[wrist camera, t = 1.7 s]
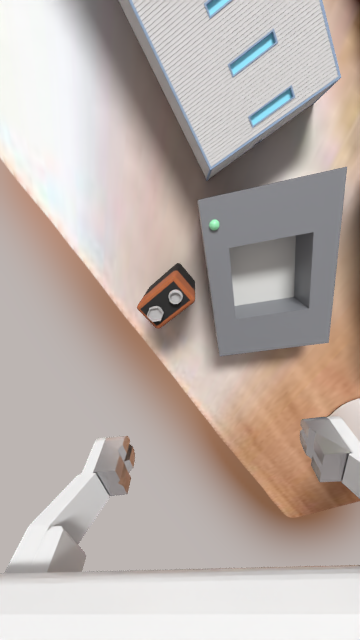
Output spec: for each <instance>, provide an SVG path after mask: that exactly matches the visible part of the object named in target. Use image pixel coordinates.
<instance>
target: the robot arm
mask: <svg viewBox="0 0 360 640" xmlns="http://www.w3.org/2000/svg"><path fill="white" fill-rule="evenodd" d="M301 427H302V428H303V429H302V430H301V431H300V440H301V444H302V447H303V449H304V451H305V453H306V455H307V456H309V457H310V458H311V459H312V463H311V466H312V468H313V470H314V472H315V474H316V476H317V478H318V480H319V482H335V481H342V483H343V484H344V485H345V486H346V487H347V488H349V489H350V490H351V491H352V492H353V493H354V494H355V495H356V496H357V497H358V498H360V398H359V399H355V400H352V401H350V402H348V403H346V404H344V405H342V406H341V407H339V408H338V409H337V410H335V411H334V412H333V413H332V414H331V415H330V416H328V417H318V418H309V419H302V420H301ZM129 443H130V439H129V438H128V436H123V437H109V438H98V439H97V440H96V441H95V443H94V445H93V447H92V450H91V452H90V454H89V457H88V460H87V462H86V464H85V467H84V469H83V471H82V474H78V475H77V477H75V479H73V480H72V482H71V483H70V484H69V485H68V486H67V487H66V488H65V489H64V490H63V491H62V492H61V493H60V494H59V495H58V496H57V497H56V498H55V499H54V500H53V502H51V503H50V504H49V505H48V507H47V508H46V509H45V510H44V511H43V512H42V513H41V514H40V515H39V516H38V517H37V518H36V519H35V520H34V521H33V522H32V523H31V524H30V525H29V526H28V528H27V530H26V532H25V534H24V536H23V538H22V540H21V542H20V544H19V546H18V548H17V549H16V551H15V553H14V555H13V557H12V559H11V561H10V563H9V565H8V567H7V569H6V571H5V573H3V574H0V640H360V565H349V566H305V567H261V568H218V569H175V570H131V571H89V572H82V569H83V566H84V562H85V559H86V555H85V552H84V551H83V550H82V549H81V548H80V547H79V546H78V543H79V542H80V541H81V539H82V537H83V536H84V534H85V533H86V532H87V530H88V529H89V527H90V526H91V524H92V523H93V521H94V520H95V518H96V517H97V515H98V514H99V512H100V511H101V509H102V508H103V507H104V505H105V504H106V502H107V501H108V499H109V498H110V496H114V495H124V494H127V493H128V489H129V485H130V480H131V477H130V475H129V472H130V471H131V470H132V468H133V466H134V461H135V460H134V459H135V453H134V449H133V447H132V446H131V445H130V444H129Z"/></svg>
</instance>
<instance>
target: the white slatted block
mask: <svg viewBox="0 0 360 640" xmlns="http://www.w3.org/2000/svg"><path fill="white" fill-rule="evenodd" d="M118 1H119V3H120V5H121V7H122V9H123V11H124V13H125V15H126V17H127V19H128V21H129V23H130V25H131V27H132V29H133V31H134V33H135V35H136V37H137V39H138V41H139V43H140V45H141V48H142V50H143V52H144V54H145V56H146V58H147V60H148V62H149V64H150V66H151V68H152V70H153V72H154V74H155V76H156V78H157V80H158V82H159V84H160V86H161V88H162V90H163V92H164V94H165V96H166V98H167V100H168V102H169V104H170V106H171V108H172V110H173V112H174V114H175V117H176V119H177V121H178V123H179V125H180V127H181V129H182V131H183V133H184V135H185V137H186V139H187V141H188V143H189V145H190V147H191V149H192V151H193V153H194V155H195V157H196V159H197V161H198V163H199V165H200V167H201V169H202V171H203V173H204V175H205V177H206V181H207V180H208V179H209V178H211V177H212V176H214V175H215V174H216V173H218V172H219V171H220V170H222V169H223V168H225V167H226V166H227V165H229V164H230V163H232V162H233V161H234V160H236V159H237V158H238V157H240V156H241V155H243V154H244V153H245V152H247V151H248V150H250V149H251V148H253V146H254V145H255V144H256V143H258V142H261V141H262V140H263V139H265V138H266V137H268V136H269V135H270V134H272V133H273V132H274V131H276V130H277V129H279V128H280V127H281V126H283V125H284V124H286V123H287V122H288V121H290V120H291V119H292V118H294V117H295V116H297V115H298V114H299V113H301V112H302V111H303V110H305V109H306V108H308V107H309V106H310V105H313V104H314V103H315V102H316V101H317V100H318V99H319V98H320V97H321V96H322V95H323V94H324V93H325V92H326V91H328V90H329V89H330V88H331V87H332V86H333V85H334V84H335V83H336V82H337V81H338V80H339V79H340V78H341V75H340V71H339V67H338V63H337V59H336V54H335V50H334V46H333V42H332V38H331V34H330V30H329V26H328V22H327V18H326V14H325V10H324V6H323V2H322V0H118Z"/></svg>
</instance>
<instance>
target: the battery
mask: <svg viewBox="0 0 360 640" xmlns="http://www.w3.org/2000/svg"><path fill="white" fill-rule="evenodd" d="M194 301H195V281H194V280H193V278H192V277H191V276H190V275H189V274H188V272H187V271H186V270H185V269H184V268H183V267H182V265H181V264H180V263H177V264H176V265H175V266H173V267H172V268H171V269H170V270H169V271H168V272H166V273H165V274H164V275H163V276H162V277H161V278H160V279H158V280H157V281H156V282H155V283H154V284H153V285H151V286H150V287H149V289H148V290H147V292H146V294H145V295H144V297H143V298H142V300H141V301H140V303H139V304H138V306H137V309H138V310H139V311H140V312H141V313H142V314H143V315H144V316H145V317H146V318H147V319H148V320H149V321H150V322H151V323H152V324H153V325H154V326H155V327H156V328H157V329H159V328H161V327H162V326H164V325H165V324H166V323H168V322H169V321H170V320H171V319H173V318H174V317H175V316H177V315H178V314H179V313H181V312H182V311H183V310H184V309H186V308H187V307H188V306H190V305H191V304H192V303H193V302H194Z"/></svg>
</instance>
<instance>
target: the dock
mask: <svg viewBox="0 0 360 640" xmlns="http://www.w3.org/2000/svg"><path fill="white" fill-rule="evenodd" d="M346 173H347V167H343V168H339V169H334V170H330V171H325V172H321V173H316V174H312V175H307V176H303V177H298V178H294V179H289V180H285V181H281V182H276V183H272V184H267V185H263V186H258V187H254V188H249V189H245V190H240V191H236V192H231V193H227V194H222V195H218V196H213V197H209V198H204V199H200V200H198V203H197V204H198V211H199V218H200V225H201V233H202V240H203V247H204V254H205V261H206V268H207V275H208V282H209V289H210V296H211V304H212V311H213V318H214V325H215V332H216V339H217V344H218V349H219V355H220V356H225V355H233V354H241V353H249V352H257V351H266V350H274V349H282V348H290V347H298V346H306V345H314V344H322V343H329V334H330V324H331V315H332V305H333V296H334V286H335V277H336V267H337V258H338V248H339V239H340V229H341V220H342V210H343V201H344V191H345V182H346Z"/></svg>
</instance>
